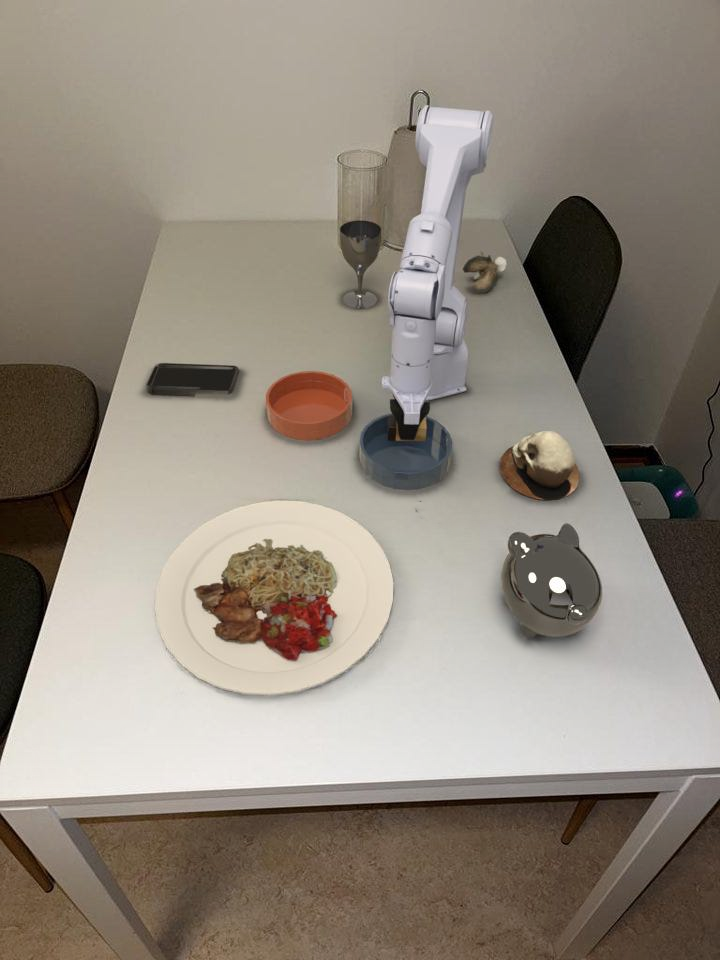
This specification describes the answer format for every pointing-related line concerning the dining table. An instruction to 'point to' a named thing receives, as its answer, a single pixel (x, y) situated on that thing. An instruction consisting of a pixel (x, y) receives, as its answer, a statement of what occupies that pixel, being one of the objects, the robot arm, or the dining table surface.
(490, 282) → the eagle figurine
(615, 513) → the dining table surface
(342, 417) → the terracotta bowl
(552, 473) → the skull
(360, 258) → the wine glass
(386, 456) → the slate bowl
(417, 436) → the tan block dark cap
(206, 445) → the dining table surface
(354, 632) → the plated food
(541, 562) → the piggy bank
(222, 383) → the phone
